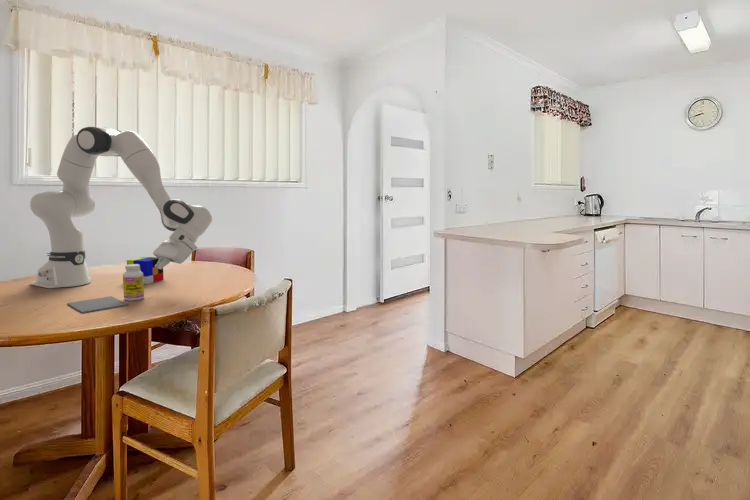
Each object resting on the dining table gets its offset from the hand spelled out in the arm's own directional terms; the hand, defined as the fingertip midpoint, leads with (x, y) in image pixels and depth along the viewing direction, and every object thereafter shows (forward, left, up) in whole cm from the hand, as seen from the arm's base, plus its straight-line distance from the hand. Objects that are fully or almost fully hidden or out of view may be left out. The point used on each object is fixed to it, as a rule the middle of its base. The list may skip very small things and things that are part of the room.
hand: (157, 268), depth 167 cm
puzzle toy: (-24, +19, -11) cm, 32 cm away
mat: (-9, -19, -11) cm, 24 cm away
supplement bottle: (-4, -8, -11) cm, 14 cm away
